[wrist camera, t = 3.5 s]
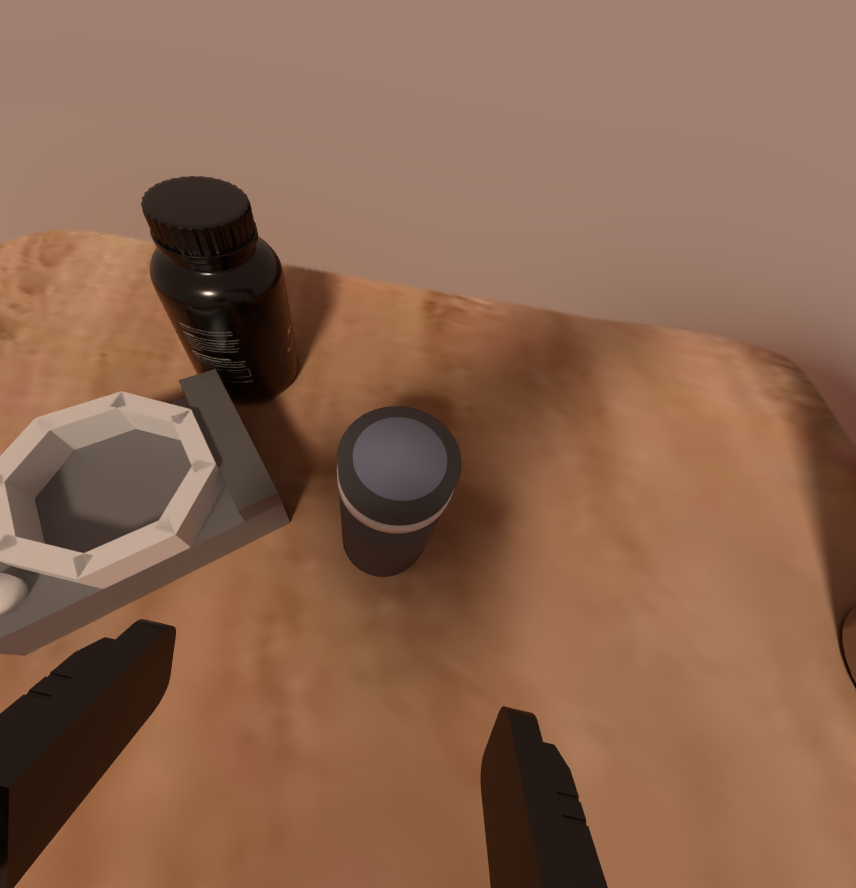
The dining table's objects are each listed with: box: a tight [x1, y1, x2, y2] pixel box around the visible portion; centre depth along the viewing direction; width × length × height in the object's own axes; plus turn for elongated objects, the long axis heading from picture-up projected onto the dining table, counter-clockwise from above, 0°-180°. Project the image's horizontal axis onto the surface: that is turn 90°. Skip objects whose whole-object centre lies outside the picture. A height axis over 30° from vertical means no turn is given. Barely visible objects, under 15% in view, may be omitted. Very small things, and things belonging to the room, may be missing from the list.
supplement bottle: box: [141, 176, 298, 402], centre depth 24 cm, size 7×7×12 cm
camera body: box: [0, 369, 290, 656], centre depth 21 cm, size 13×9×5 cm
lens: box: [337, 406, 461, 577], centre depth 20 cm, size 5×5×10 cm
